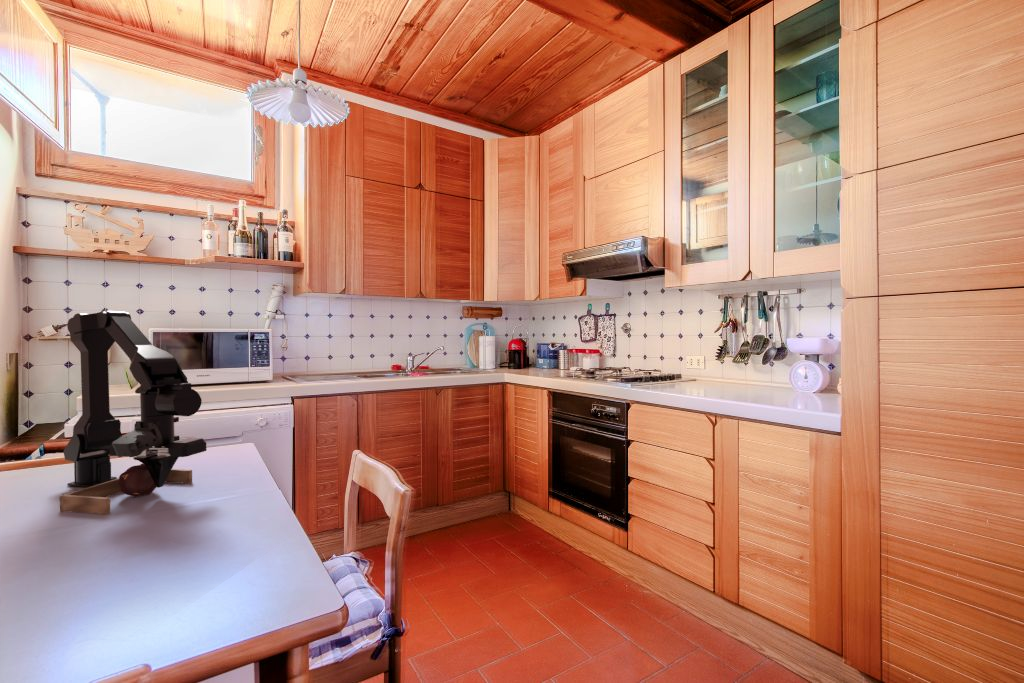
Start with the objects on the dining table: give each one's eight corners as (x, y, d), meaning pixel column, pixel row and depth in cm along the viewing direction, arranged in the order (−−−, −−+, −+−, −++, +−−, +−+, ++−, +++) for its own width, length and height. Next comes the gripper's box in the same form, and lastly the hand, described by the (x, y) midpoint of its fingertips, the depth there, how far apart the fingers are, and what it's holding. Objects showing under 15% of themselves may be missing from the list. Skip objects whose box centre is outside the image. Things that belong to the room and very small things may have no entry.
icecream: (163, 470, 101) (166, 461, 113) (119, 467, 97) (127, 458, 109) (154, 504, 99) (158, 491, 112) (108, 503, 95) (118, 489, 108)
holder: (60, 510, 95) (59, 495, 95) (152, 480, 115) (152, 467, 115) (106, 514, 93) (106, 499, 93) (192, 482, 114) (192, 469, 114)
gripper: (81, 420, 97) (84, 498, 97) (162, 421, 94) (164, 501, 94) (133, 412, 108) (135, 481, 108) (207, 412, 105) (209, 483, 105)
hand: (159, 487), depth 103 cm, fingers closed
